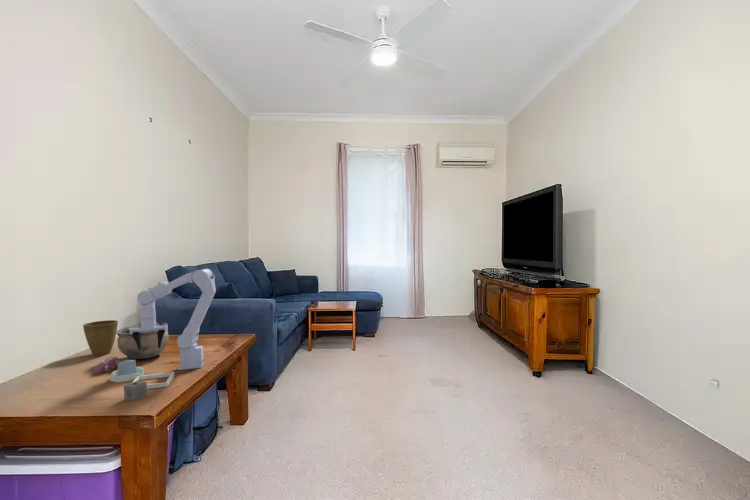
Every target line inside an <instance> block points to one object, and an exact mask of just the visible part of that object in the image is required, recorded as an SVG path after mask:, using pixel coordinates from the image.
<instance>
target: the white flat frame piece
mask: <svg viewBox="0 0 750 500" xmlns="http://www.w3.org/2000/svg"><path fill="white" fill-rule="evenodd" d="M175 374H176V373H175V371H170V372H161V373H153V374H143V375H142V376H137V377H136V379H134V380H132V381H131V383H133V382H135V381H144V380H150V379H162V378H167V377H168V378H167V380H166V381H165V382H157V383H147V390H151V389H158V388H165V387H166V388H167V387H169V385H170V384H171V382H172V380H173V379H174V377H175Z"/></svg>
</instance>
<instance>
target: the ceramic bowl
mask: <svg viewBox="0 0 750 500" xmlns="http://www.w3.org/2000/svg"><path fill="white" fill-rule="evenodd" d="M156 326H168V323H166V322H162V324H161V325H160V324H159V322H156ZM140 327H141V323H140V324H137V325H135V324H134V325H130V326H126V327H122V328H119V329H117V332H116V336H118V338H117V348H118V350H119V351H120V353H122V354H123V355H124V356H126V357H127V358H130V359H131V360H144V359H150V358H154V357H157V356H158V355H160V354H161V353H162V352H163V351H164V350H165V348H166V347H167V345H168V343H169V340H170V338H169V337H170V336H169V331H168V330H167V331H165V333H164V336H163V339H162V342H161V347H160V348H158V336H157V332H158V331H153V332H141V344H142V349H141V350H139V349H138V346H137V343H136V341H135V340H134V338H133V337H132V335H133V334H130V329H132V328H140Z"/></svg>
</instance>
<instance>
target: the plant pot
mask: <svg viewBox="0 0 750 500" xmlns="http://www.w3.org/2000/svg"><path fill="white" fill-rule="evenodd" d="M118 325H119V321H118V320H116V319H115V320H113V319H111V320H98V321H91V322H87V323H84V324H82V329H83V333H84V336H85V339H86V342H87V345H88V347H89V350H90V351H91V353H92V355H93V356H96V357H97V356H104V355H109V354H110V353H111V351H112V349H113V346H114V344H115V340H116V337H117V333H116V332H117V331H118Z"/></svg>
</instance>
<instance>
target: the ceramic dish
mask: <svg viewBox="0 0 750 500" xmlns="http://www.w3.org/2000/svg"><path fill="white" fill-rule="evenodd" d="M142 375H145V368H144V367H142V366H141V367H140V366H136V372H135V373H132V374H129V375H120V376H118V369H117V370H114V371H112V372H111V373H110V374H109V382H112V383H124V382H125V383H126V382H130V381H131V382H132V381H134V380H135V379H136V377H137V376H142Z"/></svg>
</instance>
